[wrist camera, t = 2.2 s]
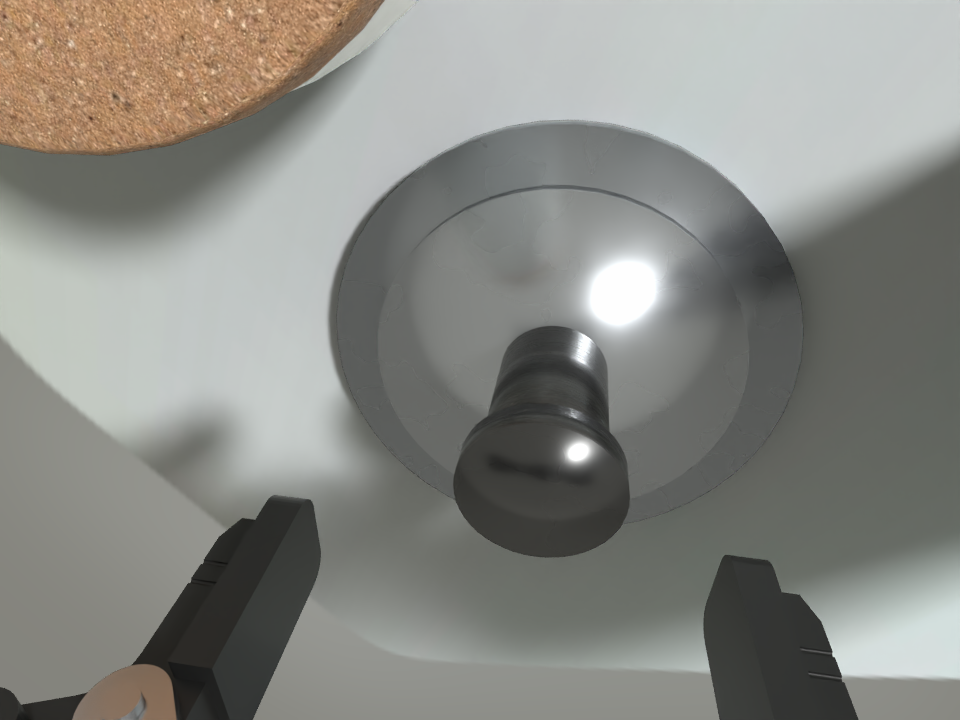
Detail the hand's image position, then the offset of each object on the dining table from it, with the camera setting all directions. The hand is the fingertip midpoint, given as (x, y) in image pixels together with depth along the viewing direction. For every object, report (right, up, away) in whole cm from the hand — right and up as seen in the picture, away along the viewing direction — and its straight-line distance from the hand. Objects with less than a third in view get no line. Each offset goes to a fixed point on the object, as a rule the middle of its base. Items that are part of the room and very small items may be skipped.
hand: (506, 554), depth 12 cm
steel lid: (+2, +4, +8) cm, 9 cm away
